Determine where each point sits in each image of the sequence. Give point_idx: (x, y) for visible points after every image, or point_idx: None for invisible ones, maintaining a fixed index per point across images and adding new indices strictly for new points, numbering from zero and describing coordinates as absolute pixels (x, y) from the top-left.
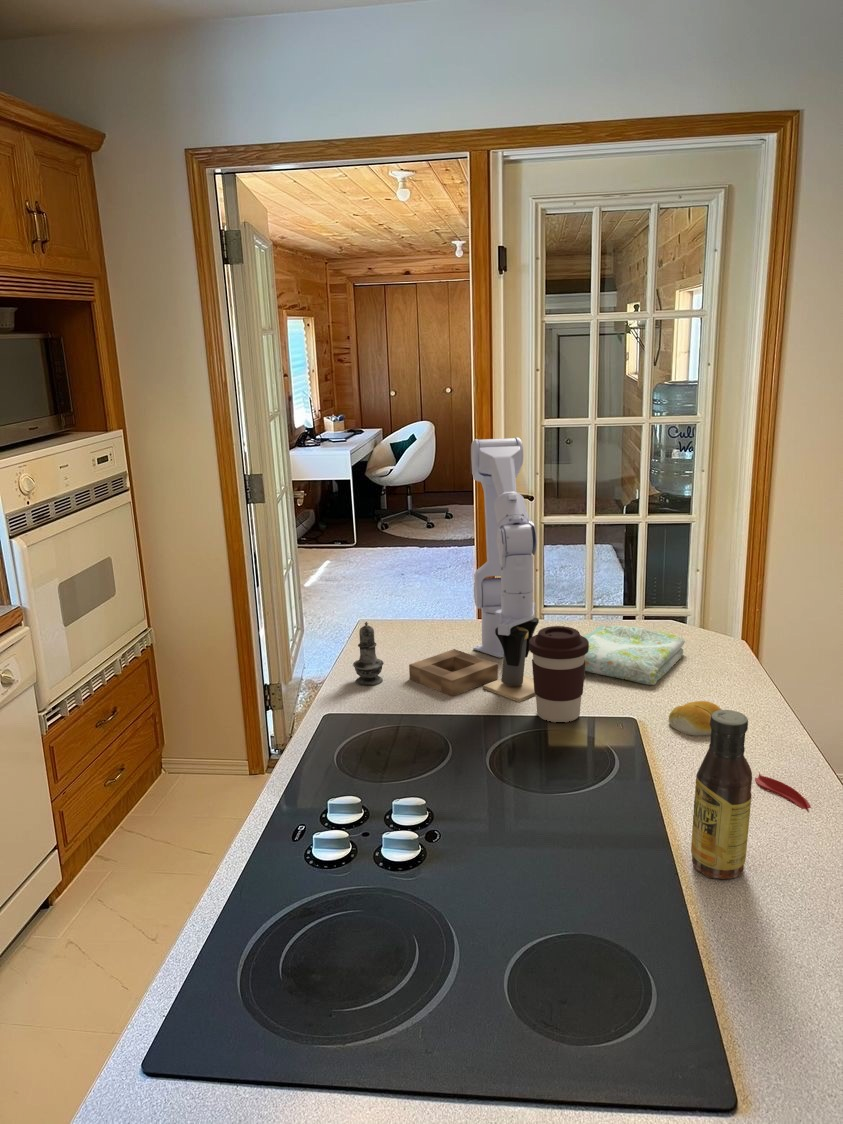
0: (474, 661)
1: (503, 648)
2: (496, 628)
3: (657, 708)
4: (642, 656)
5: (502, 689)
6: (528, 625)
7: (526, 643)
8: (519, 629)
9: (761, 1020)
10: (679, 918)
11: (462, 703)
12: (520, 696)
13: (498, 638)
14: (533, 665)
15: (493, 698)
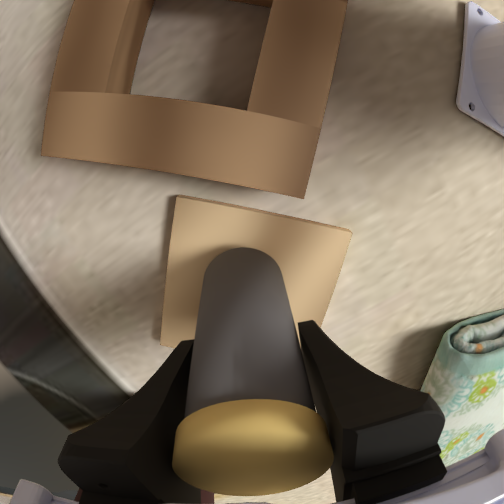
0: (271, 90)
1: (141, 390)
2: (76, 461)
3: (296, 491)
4: (444, 460)
5: (186, 272)
6: (337, 493)
7: (317, 406)
8: (289, 469)
9: (5, 501)
10: (10, 492)
11: (53, 211)
12: (174, 341)
13: (95, 423)
14: (77, 497)
15: (134, 267)
